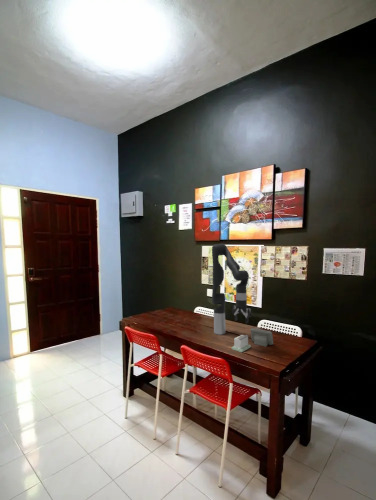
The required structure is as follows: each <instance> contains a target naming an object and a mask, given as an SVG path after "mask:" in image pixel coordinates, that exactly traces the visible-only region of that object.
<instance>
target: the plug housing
mask: <svg viewBox="0 0 376 500" xmlns="http://www.w3.org/2000/svg"><path fill="white" fill-rule="evenodd" d="M233 342H234V344H233V346H234V347H235V348H238V349H242V348H243V347H245V346H247V345H249V335H247V334H245V335H243V334H240V335H239V336H237V337H236V336H235V337H234V339H233Z"/></svg>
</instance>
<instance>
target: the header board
mask: <svg viewBox="0 0 376 500" xmlns="http://www.w3.org/2000/svg"><path fill="white" fill-rule="evenodd" d="M251 346H252V345H251V344H248V345H247V346H245V347H243V348H242V349H238V348H235V347H234V345H233V346H231V350H232V351H235V352H239V353H243V352H245V351H246V350H248V349H250V348H251Z"/></svg>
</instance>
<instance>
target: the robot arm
mask: <svg viewBox="0 0 376 500" xmlns="http://www.w3.org/2000/svg"><path fill="white" fill-rule="evenodd" d="M219 256H224V257H225V263H226V266H227V268H228V269H229V270H230V272H231V275H232V276H233V279H234V280H235V281H238V282H239V283H238V284H236V286H235V287H236V288H235V290H236V291H235V304H234V305H232V306H231V315H234V322H235V321H238V314H241V315H243V316H244V317H245V324H248V323H249V318H251V317H252V308H251V307H250V308H248V307H247V306H248V302H247V301H248V296H247V295H248V294H247V286H248V282H249V278H250V276H249V275H250V274H249V272H248V271H247V270H243V269H242V270H241V266H240V265H239V264H238V262H237V261H236V260H235V259H234V257H233V255H232V254H231V252H230V250H229V248H228V247H227V245H226V244H225V243H215V244H213V245H212V248H211V257H212V259H211V260H212V291H211V292H212V293H211V302H212V304H213V305H219V306H217V307H214V308H213V333H214V334H215V335H225V334H226V327H227V326H226V294H225V293H224V292H217V291H218V289H219V287H220V286H221V285H222V283H223V281H224V280H225V270H224V268H223V266H222V265H221V264H220V261H219Z"/></svg>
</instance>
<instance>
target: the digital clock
mask: <svg viewBox="0 0 376 500" xmlns="http://www.w3.org/2000/svg"><path fill="white" fill-rule="evenodd" d="M250 336H251V337H250V338H251V341H252V342H253V345H257V346H262V347H265V348H266V347H268V345H269V346H272V345H274V337H273V332H272V331H270V330H264V329H259V328H253V327H251V328H250Z"/></svg>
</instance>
